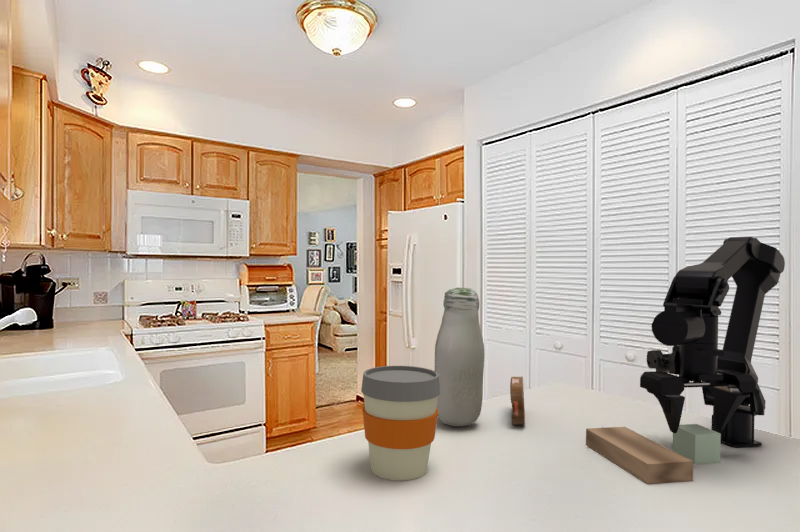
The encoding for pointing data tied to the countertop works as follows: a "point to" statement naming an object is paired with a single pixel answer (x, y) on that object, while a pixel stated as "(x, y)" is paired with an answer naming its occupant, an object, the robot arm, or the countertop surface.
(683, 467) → the walnut base
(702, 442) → the sage block
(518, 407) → the tin
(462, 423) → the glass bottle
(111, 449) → the countertop surface
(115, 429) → the countertop surface
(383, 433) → the reusable coffee cup
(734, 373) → the robot arm
